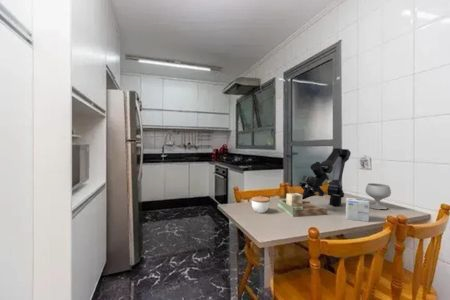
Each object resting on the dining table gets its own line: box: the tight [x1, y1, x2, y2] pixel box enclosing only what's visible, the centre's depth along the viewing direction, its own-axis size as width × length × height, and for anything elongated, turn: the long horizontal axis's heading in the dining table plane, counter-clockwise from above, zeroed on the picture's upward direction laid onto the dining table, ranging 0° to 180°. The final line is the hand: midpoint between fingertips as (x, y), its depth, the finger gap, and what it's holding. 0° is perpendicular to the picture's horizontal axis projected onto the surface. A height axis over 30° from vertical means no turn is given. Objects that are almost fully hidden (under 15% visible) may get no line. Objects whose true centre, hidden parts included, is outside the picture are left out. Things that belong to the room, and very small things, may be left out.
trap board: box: [277, 199, 328, 217], centre depth 142 cm, size 22×17×5 cm
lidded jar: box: [251, 195, 271, 214], centre depth 140 cm, size 11×11×9 cm
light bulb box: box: [345, 197, 370, 223], centre depth 130 cm, size 11×7×11 cm, turn 71°
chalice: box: [365, 182, 392, 210], centre depth 155 cm, size 14×14×15 cm
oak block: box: [285, 192, 303, 207], centre depth 141 cm, size 7×6×8 cm
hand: (302, 198), depth 143 cm, fingers closed
